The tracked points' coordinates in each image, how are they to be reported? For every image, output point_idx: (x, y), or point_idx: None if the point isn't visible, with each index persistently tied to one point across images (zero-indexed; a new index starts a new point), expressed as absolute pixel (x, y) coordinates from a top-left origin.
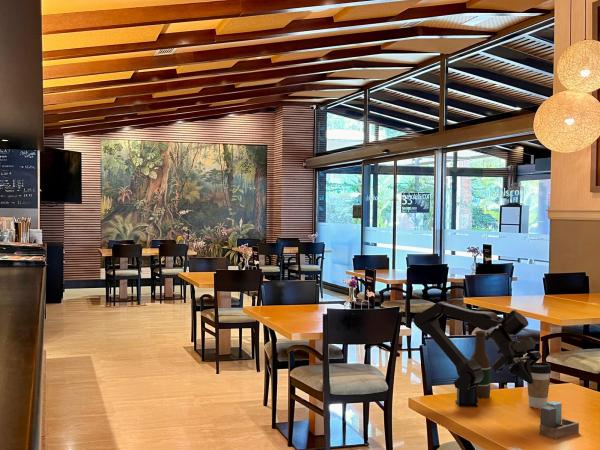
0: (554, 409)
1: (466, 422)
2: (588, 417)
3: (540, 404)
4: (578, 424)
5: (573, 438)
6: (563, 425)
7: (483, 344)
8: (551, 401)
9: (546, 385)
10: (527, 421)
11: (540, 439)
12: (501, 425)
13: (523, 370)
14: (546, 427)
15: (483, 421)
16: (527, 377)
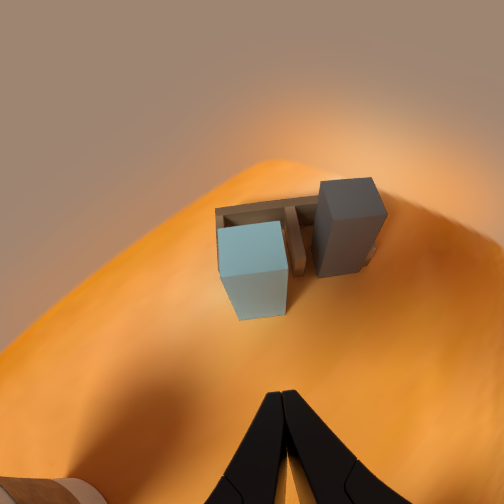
0: (332, 182)
1: (499, 449)
2: (51, 325)
3: (87, 490)
4: (218, 210)
5: None
6: (294, 209)
7: None
8: (241, 272)
9: (15, 481)
10: None
11: (393, 230)
12: (429, 398)
13: (389, 491)
14: None
15: (452, 455)
16: (327, 436)
